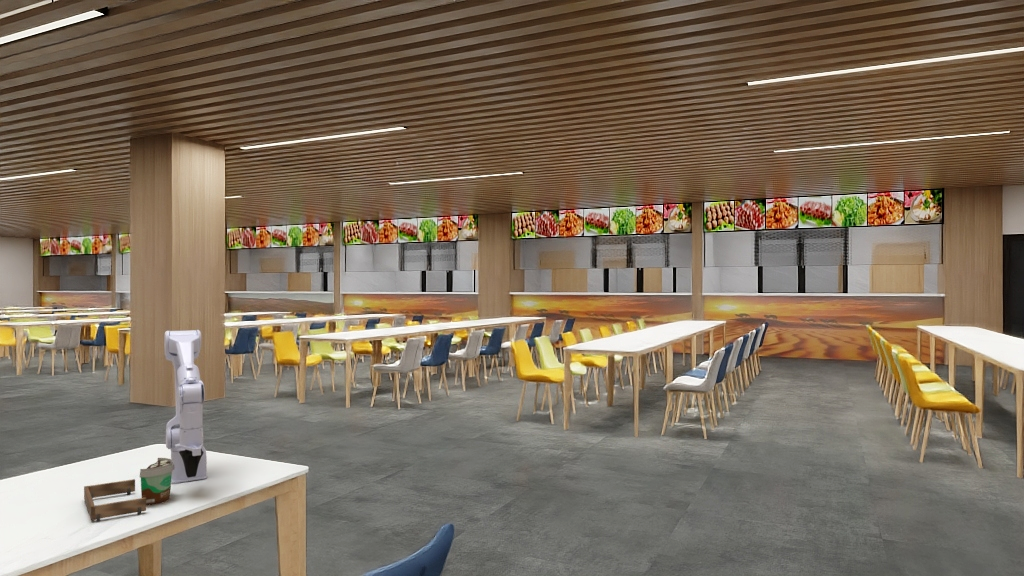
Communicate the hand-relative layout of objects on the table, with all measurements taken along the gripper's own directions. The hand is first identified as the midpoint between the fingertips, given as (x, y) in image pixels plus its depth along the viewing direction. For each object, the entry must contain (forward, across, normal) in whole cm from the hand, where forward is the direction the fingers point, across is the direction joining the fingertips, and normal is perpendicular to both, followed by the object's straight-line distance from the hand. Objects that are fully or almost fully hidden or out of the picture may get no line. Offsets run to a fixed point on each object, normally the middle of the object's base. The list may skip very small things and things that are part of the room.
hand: (191, 476), depth 193 cm
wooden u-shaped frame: (+5, 0, -18) cm, 19 cm away
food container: (+5, 0, -8) cm, 9 cm away
